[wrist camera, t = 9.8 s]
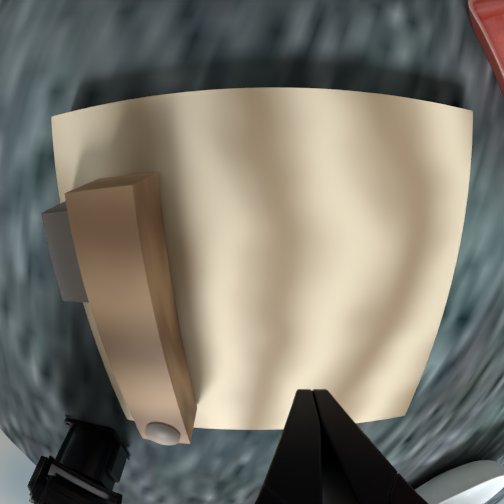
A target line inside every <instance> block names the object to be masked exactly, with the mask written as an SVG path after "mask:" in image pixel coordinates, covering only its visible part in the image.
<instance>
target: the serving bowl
mask: <svg viewBox="0 0 504 504" xmlns="http://www.w3.org/2000/svg"><path fill="white" fill-rule="evenodd" d="M503 487H504V466H503V465H501V464H500V463H498V462H495V461H491V460H480V461H474V462H470V463H467V464H464V465H461V466H459V467H456V468H453V469H451V470H448V471H446V472H444V473H442V474H440V475H438V476H436V477H434V478H432V479H431V480H429V481H428V482H426V483H424V484H423V485H421V486H420V487H418V488H417V489H415V491H416V492H417V493H418V494H419V495H420V496H421V497H422V498H423V499H424V500H425V501H427V502H428V503H429V504H483V503H485V502H486V501H488V500H489V499H490V498H492V497H493V496H494V495H495V494H496V493H498V492H499V491H500V490H501V489H502V488H503Z"/></svg>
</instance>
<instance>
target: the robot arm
mask: <svg viewBox="0 0 504 504" xmlns="http://www.w3.org/2000/svg"><path fill="white" fill-rule="evenodd" d="M64 424H65V425H66V427H67V428H68V430H69V431H68V433H67V435H66V437H65V439H64V442H63V444H62V446H61V448H60V450H59V452H58V454H57V456H56V458H55V459H54V458H53V457H52V456H49V458H47V457H44V456H41V458H40V460H39V462H38V464H37V466H36V468H35V470H34V472H33V475H32V477H31V479H30V481H29V484H28V488H29V491H30V499H29V501H30V502H31V503H33V504H121V503H122V495H121V494H119V493H115V492H113V491H112V490H113V487H114V484H115V482H116V483H118V482H119V481H120V478H121V475H122V472H123V469H124V465H125V462H128V461H129V456H128V455H127V453H126V451H125V450H124V448H123V446H122V445H121V443H120V441H119V439H118V438H117V436H116V434H115V432H114V431H113V430H112V429H110V428H105V427H100V426H96V425H91V424H87V423H83V422H78V421H74V420H70V419H65V420H64ZM48 473H49V474H51V475H50V476H49V475H47V474H48ZM255 504H429V503H428V502H427V501H425V500H424V499H423V498H422V497H421V496H420V495H419V494H418V493H417V492H416V491H415V490H414V489H413V488H412V487H411V486H410V485H409V484H408V483H407V482H406V481H405V479H404V478H403V477H402V476H401V475H400V474H399V473H398V474H397V471H396V469H395V468H394V467H393V466H392V465H391V464H390V463H389V461H388V460H387V459H386V458H385V457H384V456H383V454H382V453H381V452H380V451H379V450H378V449H377V448H376V446H375V445H374V444H373V443H372V442H371V441H370V439H369V438H368V437H367V436H366V435H365V434H364V432H363V431H362V430H361V429H360V428H359V427H358V425H357V424H356V423H355V422H354V421H353V420H352V418H351V417H350V416H349V415H348V414H347V412H346V411H345V410H344V409H343V408H342V407H341V405H340V404H339V403H338V402H337V401H336V399H335V398H334V397H333V396H332V395H331V393H330V392H329V391H328V390H326V389H313V390H311V389H298V390H297V391H296V393H295V396H294V400H293V403H292V406H291V409H290V412H289V415H288V418H287V420H286V423H285V426H284V429H283V432H282V435H281V438H280V440H279V443H278V446H277V449H276V452H275V454H274V457H273V460H272V462H271V465H270V468H269V470H268V473H267V475H266V478H265V480H264V483H263V485H262V488H261V490H260V493H259V495H258V497H257V500H256V502H255Z"/></svg>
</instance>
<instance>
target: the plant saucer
mask: <svg viewBox="0 0 504 504" xmlns="http://www.w3.org/2000/svg"><path fill="white" fill-rule="evenodd" d="M467 2H468V11H469V17H470V20H471V23H472V26H473V29H474V31H475V34H476V36H477V38H478V40H479V42H480V44H481V46H482V48H483V50H484V52H485V54H486V56H487V58H488V61H489V63H490V65H491V67H492V69H493V72H494V74H495V76H496V79H497V81H498V84H499V86H500V89H501V91H502V94H503V96H504V0H468V1H467Z"/></svg>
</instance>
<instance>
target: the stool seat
mask: <svg viewBox="0 0 504 504" xmlns="http://www.w3.org/2000/svg"><path fill="white" fill-rule="evenodd" d="M472 127H473V111H470V110H466V109H462V108H458V107H453V106H449V105H444V104H439V103H434V102H429V101H423V100H418V99H412V98H406V97H399V96H392V95H385V94H377V93H368V92H358V91H347V90H334V89H317V88H278V87H272V88H233V89H215V90H202V91H191V92H181V93H172V94H164V95H156V96H149V97H142V98H136V99H130V100H124V101H119V102H113V103H108V104H103V105H98V106H94V107H89V108H85V109H80V110H76V111H72V112H68V113H64V114H60V115H56V116H53V117H52V134H53V147H54V158H55V167H56V175H57V183H58V190H59V197H60V203H61V204H59V205H57V206H55V207H53V208H51V209H49V210H47V211H45V212H43V213H41V215H42V220H43V225H44V230H45V235H46V239H47V244H48V248H49V252H50V256H51V260H52V264H53V268H54V272H55V276H56V279H57V283H58V286H59V290H60V293H61V296H62V300H63V301H71V302H83V304H84V307H85V311H86V314H87V317H88V320H89V324H90V327H91V330H92V333H93V336H94V339H95V341H96V344H97V347H98V350H99V353H100V355H101V358H102V361H103V363H104V366H105V369H106V371H107V374H108V376H109V379H110V381H111V384H112V386H113V389H114V391H115V393H116V396H117V398H118V400H119V402H120V405H121V407H122V409H123V411H124V414H125V416H126V418H127V420H133V421H134V419H133V417H132V415H131V413H130V411H129V409H128V406H127V404H126V402H125V400H124V397H123V395H122V393H121V390H120V388H119V385H118V383H117V381H116V378H115V376H114V373H113V371H112V368H111V365H110V363H109V360H108V358H107V355H106V352H105V349H104V347H103V344H102V341H101V338H100V335H99V332H98V329H97V326H96V323H95V320H94V317H93V314H92V311H91V307H90V304H89V301H88V297H87V294H86V290H85V287H84V283H83V279H82V275H81V272H80V268H79V264H78V260H77V255H76V251H75V247H74V242H73V238H72V233H71V228H70V223H69V218H68V212H67V207H66V201H65V194H64V193H66V192H69V191H71V190H73V189H76V188H78V187H80V186H82V185H85V184H87V183H90V182H92V181H94V180H97V179H101V178H109V177H117V176H126V175H135V174H144V173H154V172H158V181H159V190H160V200H161V208H162V217H163V225H164V233H165V240H166V247H167V254H168V261H169V268H170V274H171V280H172V286H173V292H174V298H175V304H176V310H177V315H178V320H179V326H180V331H181V336H182V341H183V346H184V351H185V356H186V361H187V365H188V370H189V374H190V379H191V383H192V388H193V392H194V396H195V400H196V404H197V412H196V417H195V422H194V427H196V428H212V429H242V430H266V429H284V426H285V423H286V420H287V418H288V415H289V412H290V409H291V406H292V403H293V400H294V396H295V393H296V391H297V390H298V389H311V390H313V389H326V390H328V391H329V392H330V393H331V395H332V396H333V397H334V398H335V399H336V401H337V402H338V403H339V404H340V405H341V407H342V408H343V409H344V410H345V411H346V412H347V414H348V415H349V416H350V417H351V418H352V420H353V421H354V422H355V423H361V422H369V421H375V420H382V419H388V418H394V417H399V416H404V415H405V413H406V411H407V409H408V407H409V404H410V402H411V400H412V398H413V395H414V393H415V391H416V388H417V386H418V383H419V381H420V378H421V376H422V373H423V371H424V368H425V366H426V363H427V360H428V358H429V355H430V352H431V349H432V346H433V343H434V340H435V337H436V334H437V331H438V328H439V325H440V322H441V319H442V315H443V312H444V308H445V305H446V301H447V298H448V294H449V290H450V286H451V282H452V278H453V274H454V270H455V265H456V261H457V256H458V251H459V246H460V241H461V236H462V230H463V224H464V218H465V211H466V204H467V196H468V187H469V178H470V166H471V152H472Z"/></svg>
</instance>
